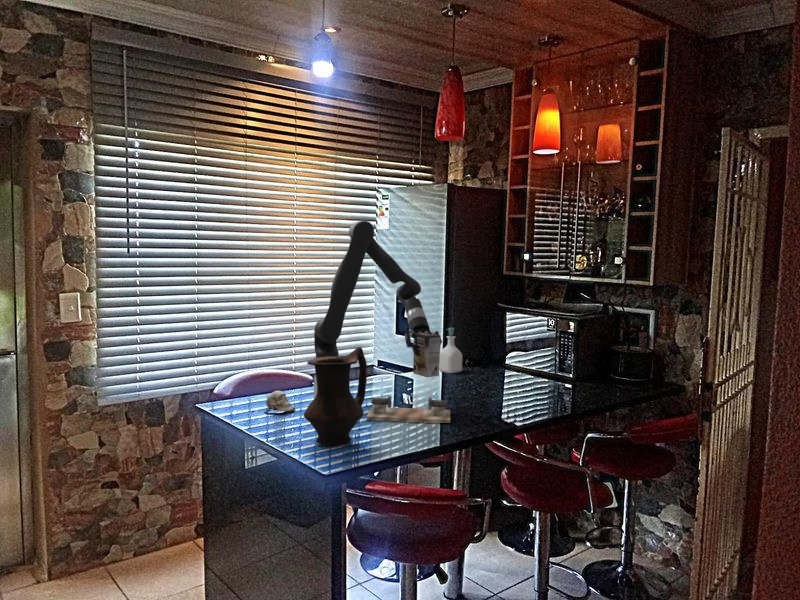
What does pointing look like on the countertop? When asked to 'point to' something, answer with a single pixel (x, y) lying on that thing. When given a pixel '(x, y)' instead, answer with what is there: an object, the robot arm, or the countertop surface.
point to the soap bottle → (450, 356)
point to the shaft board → (409, 412)
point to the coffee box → (427, 355)
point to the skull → (279, 402)
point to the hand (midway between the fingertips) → (427, 354)
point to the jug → (336, 398)
